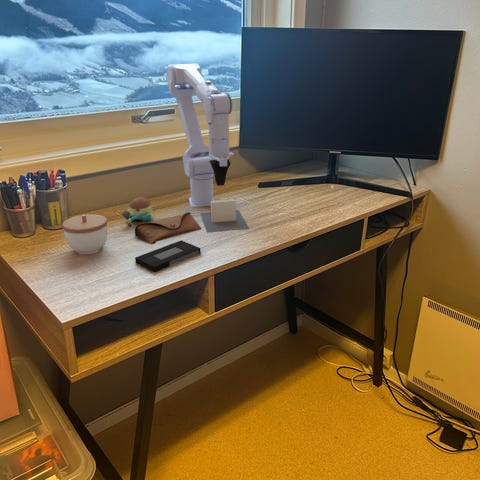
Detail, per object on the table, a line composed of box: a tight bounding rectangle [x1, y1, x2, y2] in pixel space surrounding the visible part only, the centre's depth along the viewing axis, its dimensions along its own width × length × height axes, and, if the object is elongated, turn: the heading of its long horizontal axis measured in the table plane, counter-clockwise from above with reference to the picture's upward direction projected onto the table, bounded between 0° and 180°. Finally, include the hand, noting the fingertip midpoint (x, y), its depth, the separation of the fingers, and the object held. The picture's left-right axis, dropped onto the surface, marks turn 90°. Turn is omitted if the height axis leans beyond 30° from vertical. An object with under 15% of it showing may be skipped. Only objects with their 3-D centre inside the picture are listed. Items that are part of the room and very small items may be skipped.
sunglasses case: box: [134, 212, 203, 246], centre depth 132 cm, size 18×7×7 cm
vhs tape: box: [134, 240, 202, 274], centre depth 117 cm, size 8×14×2 cm, turn 136°
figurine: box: [122, 196, 153, 227], centre depth 141 cm, size 7×10×7 cm
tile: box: [210, 198, 237, 222], centre depth 138 cm, size 2×7×6 cm, turn 101°
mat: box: [199, 209, 250, 233], centre depth 140 cm, size 16×12×1 cm
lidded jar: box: [61, 213, 108, 256], centre depth 121 cm, size 11×11×9 cm
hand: (220, 184), depth 140 cm, fingers closed
